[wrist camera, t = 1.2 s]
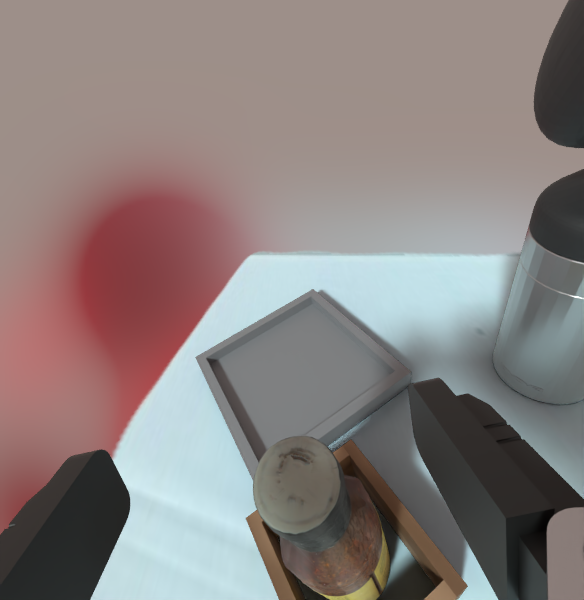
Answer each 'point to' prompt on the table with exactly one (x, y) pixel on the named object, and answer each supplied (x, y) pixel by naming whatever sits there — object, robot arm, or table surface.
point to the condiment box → (395, 514)
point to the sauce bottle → (322, 520)
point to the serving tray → (299, 377)
